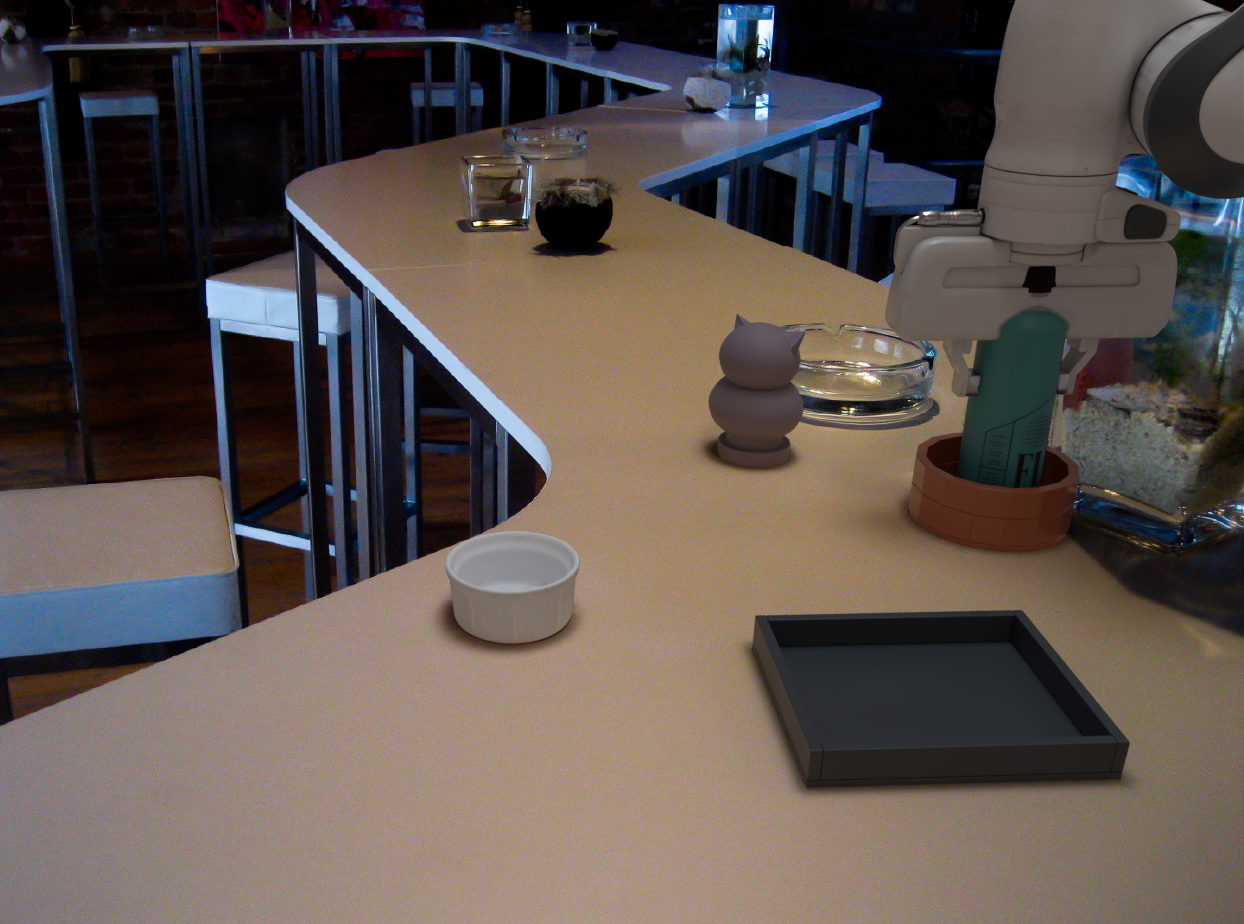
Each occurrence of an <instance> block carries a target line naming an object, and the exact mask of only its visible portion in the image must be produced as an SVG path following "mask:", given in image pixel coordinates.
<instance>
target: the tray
mask: <svg viewBox="0 0 1244 924" xmlns="http://www.w3.org/2000/svg"><path fill="white" fill-rule="evenodd" d="M751 649H752V652H753V654H754V657H755V659H756V662H757V664H758V667H759V669H760V672H761V675H762V677H763V679H764V682H765V685H766V687H767V691H768V692H769V695H770V697H771V700H772V703H773V705H774V708H775V711H776V714H777V716H778V718H779V720H780V723H781V726H782V729H783V732H784V734H785V736H786V738H787V741H788V744H789V746H790V749H791V752H792V755H793V757H794V760H795V762H796V765H797V767H798V769H799V772H800V775H801V777H802V780H803V782H804V785H805V787H806V788H807V789H811V788H843V787H845V788H850V787H882V786H883V787H885V786H917V785H919V786H921V785H950V784H951V785H952V784H953V785H955V784H985V783H991V784H992V783H1020V782H1023V783H1025V782H1026V783H1027V782H1056V781H1058V782H1059V781H1092V780H1093V781H1094V780H1121V779H1122V778H1123V777H1122V776H1123V772H1124V767H1125V764H1126V761H1127V756H1128V753H1129V752H1128V751H1129V748H1130V744H1131V742H1130V740H1129V739H1128V738H1127V736H1126V735H1125V734H1124V733H1123V732H1122V730H1121V729H1120V728H1119V727H1118V726H1117V725H1116V723H1115V722H1114V721H1113V719H1112V718H1111V717H1110V716H1109V714H1108V713H1107V712H1106V711H1105V709H1104V708H1103V707H1102V705H1100V703H1099V702H1098V701H1097V700H1096V698H1095V697H1094V696H1093V694H1091V693H1090V691H1089V690H1088V689H1087V687H1086V686H1085V685H1084V684H1083V683H1082V681H1081V680H1080V679H1079V678H1078V676H1077V675H1076V674H1075V673H1074V672H1073V671H1072V669H1071V668H1070V666H1068V664H1067V663H1066V662H1065V660H1064V659H1063V658H1062V657H1061V656H1060V654H1059V653H1058V651H1056V649H1055V648H1054V647H1053V646H1052V644H1050V642H1049V641H1048V639H1047V638H1046V637H1045V635H1044V634H1042V632H1041V631H1040V630H1039V629H1038V627H1037V626H1036V625H1035V624H1034V622H1033V621H1032V620H1031V619H1030V617H1028V615H1027V614H1026V613H1025V611H1024V610H1022V609H1012V610H1011V609H1001V610H1000V609H999V610H998V609H997V610H995V609H993V610H951V611H949V610H948V611H947V610H946V611H945V610H944V611H903V612H901V611H900V612H855V613H854V612H852V613H849V612H848V613H808V614H807V613H805V614H804V613H803V614H767V615H765V614H758V615H757V614H756V615H755V616H754V625H753V636H752V647H751Z"/></svg>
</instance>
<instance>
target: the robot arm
mask: <svg viewBox="0 0 1244 924" xmlns="http://www.w3.org/2000/svg"><path fill="white" fill-rule="evenodd" d="M993 106H994V111H995V128H994V134H993V137H992V140H991V143H990V145H989V147H988V149H987V152H986V154H985V157H984V166H983V168H982V169H983V170H982V177H981V183H980V190H979V197H978V202H977V208H970V209H969V208H966V209H965V208H964V209H953V210H939V209H925V210H920V211H918V213H917V215H914V216H912V217H910V218H908V219H907V220H906V221H904V222H903V223H902V224H901V226H900V227H898V229H897V232H896V234H895V240H894V247H893V263H894V266H895V267H894V271H893V274H892V278H891V282H890V285H889V290H888V295H887V300H886V305H885V311H884V320H885V322H886V324H887V326H888V327H889V328H890V330H891V331H892V332H893V333H894V334H895V335H896V336H897V337H899V338H900V339H901V340H903V341H904V342H909V343H910V342H911V343H913V342H942V346H941V347H942V349H943V351H944V353H945V355H946V357H947V359H948V362H949V364H950V366H951V368H952V369H953V374H952V381H951V392H952V393H953V394H954V395H955V396H956V397H957V398H964V397H965V398H966V397H968V396H978V394H979V388H978V386H979V385H980V382H981V375H980V374H978V373H977V372H976V371H975V370H974V369H973V367H969V366H968V364H967V361H966V360H965V356H964V355H970V354H971V352H972V348H973V341H977V340H997V339H998V338H999V337H1000V332H1001V331H1000V330H1001V327H1002V325H1004V324H1005V323H1006V322H1007V321H1009V320H1010V319H1012V318H1013V317H1015V316H1016V315H1018V314H1020V313H1023V312H1046V311H1050V312H1052V313H1054V314H1056V315H1057V316H1059V317H1060V318H1061V319H1062V320H1064V322H1065V323H1066V324H1067V330H1066V332H1065V340H1066V344H1067V345H1069V346H1070V347H1071V348H1069V350H1068V352H1067V353H1066V355H1065V356H1064V357H1063V358H1062V360H1061V362H1062V364H1061V367H1060V368H1061V371H1060V375H1059V381H1058V385H1059V386H1058V387H1057V389H1058V390H1057V392H1056V396H1057V395H1058V396H1067V395H1068V396H1069V395H1073V393H1074V392H1075V391H1074V390H1075V385H1076V381H1077V375H1078V374H1080V372H1081V371H1082V370H1083V369H1084V368H1085V367H1086V365H1087V364H1088V363H1089V362H1090V361H1091V360H1092V358H1093V357H1094V356H1095V355H1096V354H1097V351H1098V347H1099V341H1100V339H1132V338H1133V339H1134V338H1135V339H1136V338H1137V339H1138V338H1141V339H1142V338H1154V337H1155V336H1157V335H1158V334H1159V333H1160V332H1161V331H1162V330H1163V329H1164V328H1165V327H1166V326H1167V324H1168V322H1169V320H1170V317H1171V313H1172V308H1173V303H1174V298H1175V291H1176V285H1177V284H1176V283H1177V275H1178V257H1177V253H1176V251H1175V249H1174V248H1173V247H1174V246H1172V245H1171V244H1170V243H1168V242H1169V241H1172V240H1173V239H1175V238H1176V236H1177V235H1178V233H1179V230H1180V227H1181V222H1182V216H1181V213H1180V212H1179V211H1177V210H1176V209H1174V208H1172V207H1169V206H1168V205H1166V204H1163V203H1162V202H1159V201H1156V200H1154V199H1151V198H1149V197H1146V196H1142V195H1140V194H1139V193H1138V192H1136V191H1134V190H1132V189H1129V188H1127V187H1121V186H1119V185H1117V180H1118V175H1119V171H1120V166H1121V162H1122V160H1123V159H1124V158H1125V157H1126V156H1130V155H1131V154H1132V155H1135V154H1136V155H1150V156H1151V157H1152V158H1153V160H1154V161H1155V164H1156V166H1158V168H1159V170H1160V171H1161V172H1162V173H1163V175H1165V177H1166V178H1167V179H1168V180H1169V181H1171V182H1172V183H1173V184H1175V186H1177V187H1179V188H1181V189H1182V190H1183V191H1186V192H1189V193H1190V194H1193V195H1196V196H1200V197H1204V198H1208V199H1216V200H1232V199H1241V198H1242V199H1243V198H1244V3H1242V4H1241V5H1240V6H1239V7H1237V8H1236V9H1235V10H1234V11H1233V12H1231V11H1228V10H1225V9H1224V8H1222V7H1219V6H1216V5H1215V4H1213V3H1212V4H1211V3H1210V2H1207V1H1205V0H1015V1H1014V4H1013V6H1012V9H1011V12H1010V15H1009V18H1008V22H1007V26H1006V29H1005V34H1004V39H1003V43H1002V48H1001V53H1000V58H999V63H998V68H997V74H996V81H995V87H994V95H993ZM915 223H917V224H918V225H916V224H915ZM913 224H915V225H913ZM1030 266H1055V268H1056V287H1053V288H1052V290H1051V292H1050V293H1028V289H1029V288H1024V287H1023V286H1022V284H1023V283H1024V281H1025V277H1026V274H1027V271H1028V268H1029V267H1030ZM963 354H964V355H963ZM1060 380H1061V381H1060ZM1059 382H1060V383H1059ZM1058 391H1059V392H1058ZM1058 393H1059V394H1058Z"/></svg>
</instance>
